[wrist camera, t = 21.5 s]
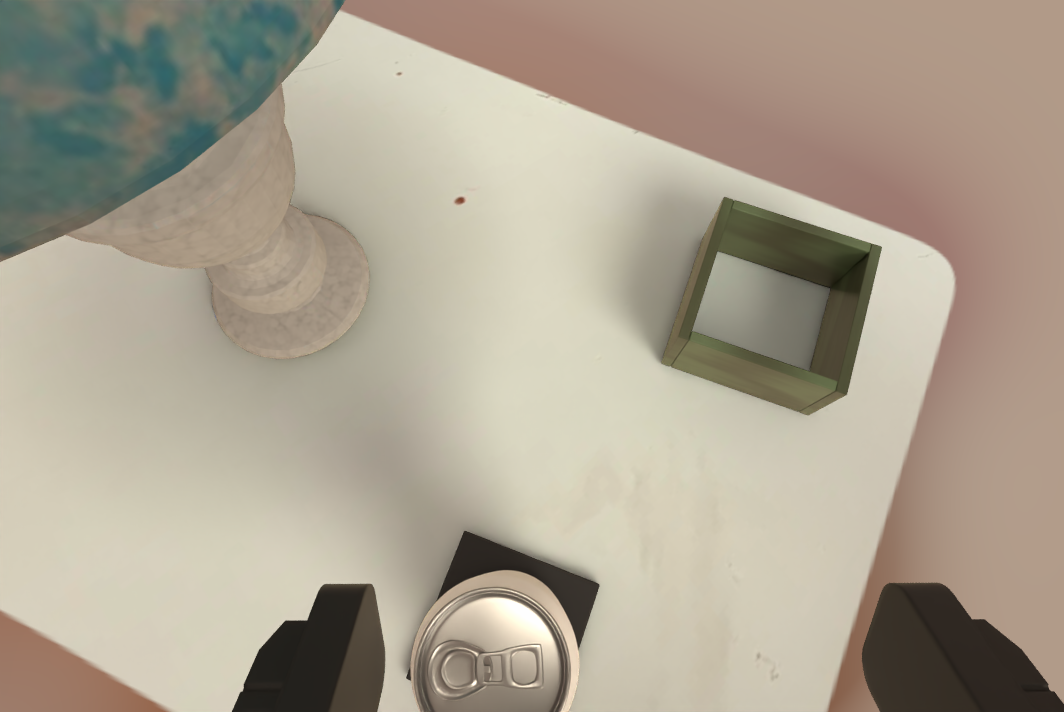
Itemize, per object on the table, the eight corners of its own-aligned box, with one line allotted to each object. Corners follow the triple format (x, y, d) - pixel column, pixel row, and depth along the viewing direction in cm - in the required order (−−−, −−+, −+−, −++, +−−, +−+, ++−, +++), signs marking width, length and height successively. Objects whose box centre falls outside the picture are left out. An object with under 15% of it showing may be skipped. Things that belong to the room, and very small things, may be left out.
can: (445, 572, 35) (402, 578, 24) (563, 566, 35) (576, 570, 24) (446, 704, 33) (399, 780, 22) (571, 698, 33) (590, 770, 22)
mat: (599, 584, 36) (599, 584, 35) (548, 737, 33) (548, 740, 33) (465, 530, 36) (464, 530, 36) (407, 676, 34) (405, 678, 34)
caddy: (842, 283, 41) (882, 246, 36) (808, 415, 38) (847, 395, 34) (702, 237, 42) (724, 196, 37) (660, 363, 39) (678, 336, 35)
